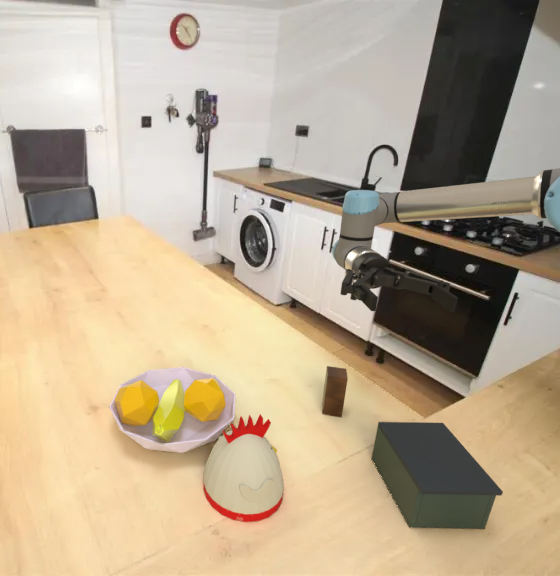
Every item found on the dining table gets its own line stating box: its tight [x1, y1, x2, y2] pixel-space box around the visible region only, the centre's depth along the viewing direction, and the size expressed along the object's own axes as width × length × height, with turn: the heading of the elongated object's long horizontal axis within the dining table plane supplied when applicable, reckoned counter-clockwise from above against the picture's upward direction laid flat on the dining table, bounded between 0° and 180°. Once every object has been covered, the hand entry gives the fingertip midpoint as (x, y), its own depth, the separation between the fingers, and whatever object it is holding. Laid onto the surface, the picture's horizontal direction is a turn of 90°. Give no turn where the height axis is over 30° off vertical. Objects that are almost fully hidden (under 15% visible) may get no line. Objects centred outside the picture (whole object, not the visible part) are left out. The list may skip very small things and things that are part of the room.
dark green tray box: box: [371, 425, 497, 530], centre depth 70 cm, size 15×12×8 cm
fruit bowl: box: [108, 366, 236, 454], centre depth 86 cm, size 28×27×11 cm
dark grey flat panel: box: [377, 421, 504, 496], centre depth 68 cm, size 15×12×1 cm
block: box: [321, 365, 349, 418], centre depth 90 cm, size 4×4×10 cm
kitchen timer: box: [203, 414, 285, 523], centre depth 70 cm, size 14×14×15 cm
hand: (414, 304), depth 72 cm, fingers open, 13 cm apart
